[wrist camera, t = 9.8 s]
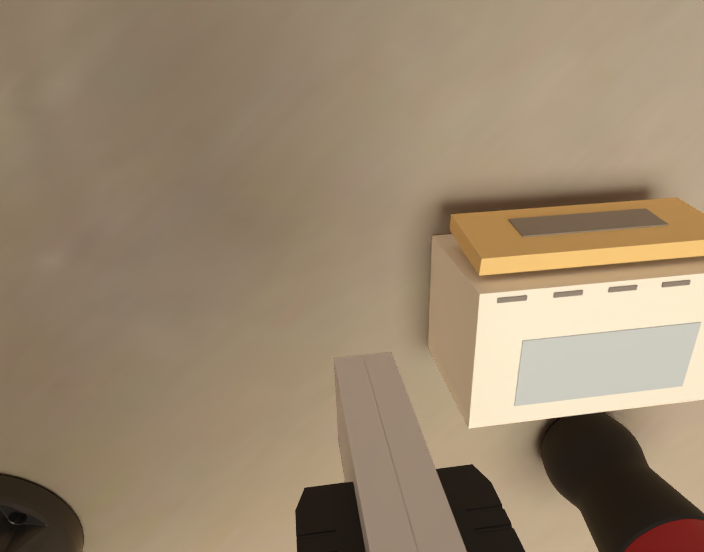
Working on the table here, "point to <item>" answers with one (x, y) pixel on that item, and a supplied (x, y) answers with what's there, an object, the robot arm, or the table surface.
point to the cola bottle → (618, 488)
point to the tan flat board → (579, 235)
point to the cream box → (565, 336)
